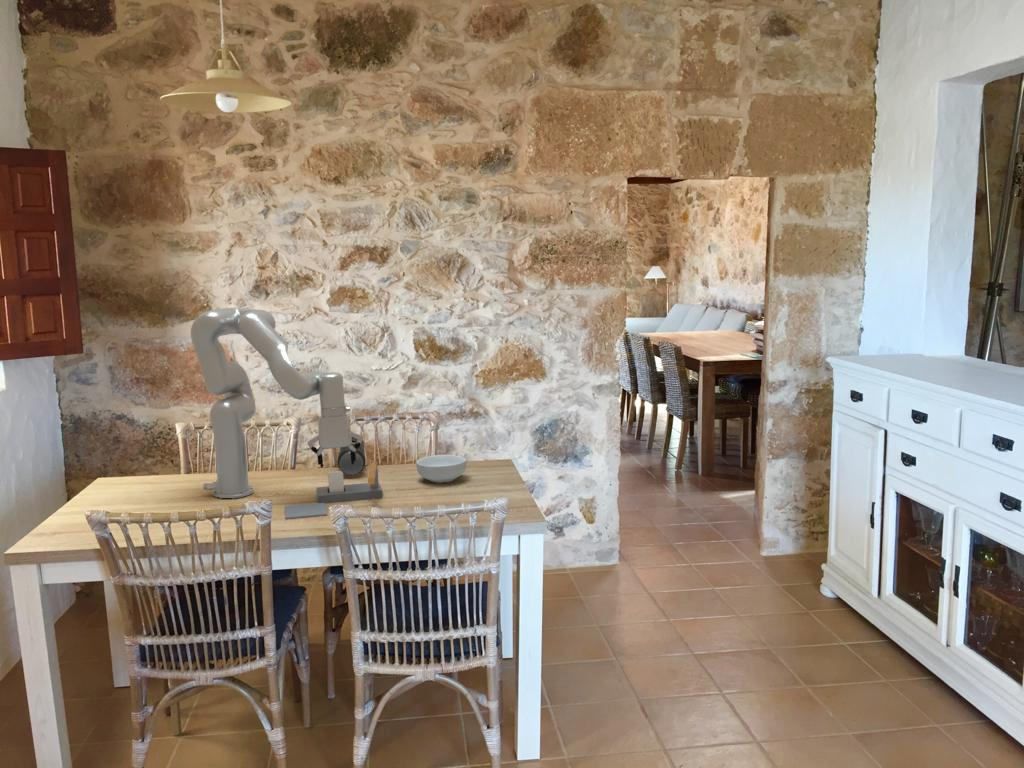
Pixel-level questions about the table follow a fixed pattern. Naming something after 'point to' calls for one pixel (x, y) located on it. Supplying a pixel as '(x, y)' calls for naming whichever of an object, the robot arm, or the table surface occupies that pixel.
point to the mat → (305, 510)
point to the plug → (336, 482)
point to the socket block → (351, 492)
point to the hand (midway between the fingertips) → (337, 465)
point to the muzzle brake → (345, 459)
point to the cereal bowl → (441, 467)
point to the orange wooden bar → (372, 472)
